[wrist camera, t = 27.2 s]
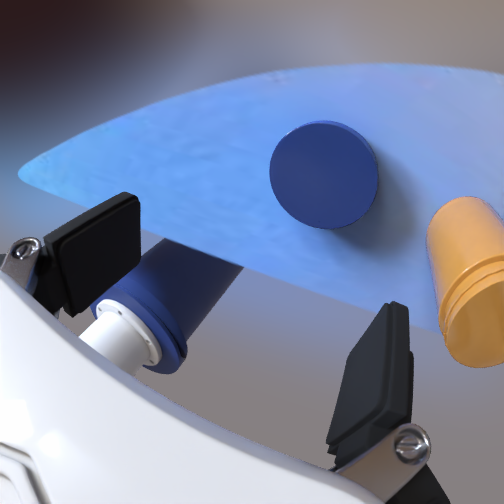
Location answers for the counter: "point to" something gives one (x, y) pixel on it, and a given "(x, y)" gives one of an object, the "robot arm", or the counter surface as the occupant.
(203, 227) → the counter surface
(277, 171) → the jar lid
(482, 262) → the jam jar
